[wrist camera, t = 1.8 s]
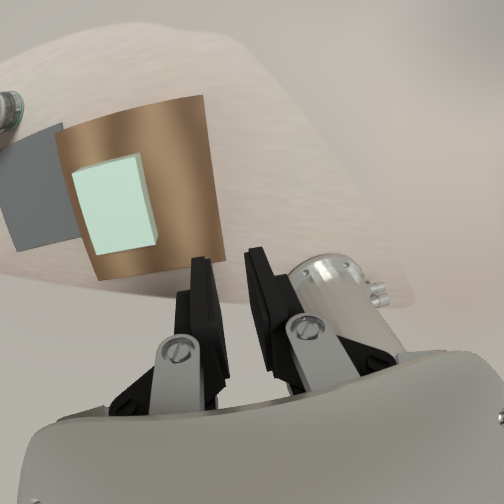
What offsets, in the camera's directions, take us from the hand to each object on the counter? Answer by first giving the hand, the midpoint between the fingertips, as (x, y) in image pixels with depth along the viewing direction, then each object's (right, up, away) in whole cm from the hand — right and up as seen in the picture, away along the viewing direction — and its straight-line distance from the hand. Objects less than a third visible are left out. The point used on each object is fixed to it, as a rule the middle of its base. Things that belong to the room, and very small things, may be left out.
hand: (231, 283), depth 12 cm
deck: (-10, +8, +16) cm, 20 cm away
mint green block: (-11, +6, +12) cm, 18 cm away
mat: (-24, +8, +13) cm, 29 cm away
